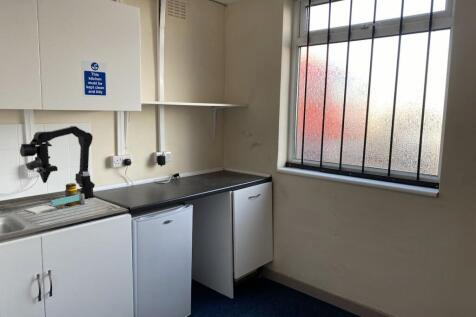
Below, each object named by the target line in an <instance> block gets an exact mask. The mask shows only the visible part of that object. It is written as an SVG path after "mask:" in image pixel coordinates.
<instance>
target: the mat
mask: <svg viewBox="0 0 476 317" xmlns="http://www.w3.org/2000/svg"><path fill="white" fill-rule="evenodd" d="M24 210H25V211H26V212H29V213H32V214H35V215H36V214H37V215H38V214H41V213H46V212H51V211H54V210H58V207H56V206H51V205H48V204H43V205H40V206H39V205H38V206H35V207H29V208H25V209H24Z"/></svg>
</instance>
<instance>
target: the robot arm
mask: <svg viewBox="0 0 476 317" xmlns="http://www.w3.org/2000/svg"><path fill="white" fill-rule="evenodd" d="M71 134H72V135H73V136H74V137H75V138H77V142H78V144H79V146H80V151H79V152H80V155H79V171H78V173H75V178H74V180H75V182H76V183H75V184H76V185H77V184H78V186H79V188H80V193H79V194H84V200H87V199H92V198H95V197H96V195H94V188H95V185H96V184H95V183H94V182H93V181H91V175H90V171H89V160H90V159H89V158H90V147H91V145H92V142H93V139H94V138H93V134H92V133H90V132H87V131H84V130H83V129H81V128H79V127H78V126H75V125H71V126H69V127H63V128H58V129H54V130H51V131H37V132H35V133H34V135H33V138H32V140H31V141H30V142H29V143H21V144H20V148H19V154H20V156H21V157H23V158H25V157H27V158H28V157H34V156H35V155H36V156H35V157H34V160H32V161H29V162H27V163H25V164H24V165H25V167H26V168H27V171H29V170H30V171H34V170H35V169H36V170H35V172H36V173H38V174H39V176H40V178H41V180H42V183H43V184H45V183H47V181H48V179H49V177H50V175H51V173H52V172H57V171H58V166H56V165H53V164H51V163H50V159H51V156H50V155H49V147H52V146H53V145H52V144H51V143H50V142H51V140H53V139H56V138H59V137H64V136H67V135H71Z"/></svg>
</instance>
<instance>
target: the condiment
mask: <svg viewBox="0 0 476 317" xmlns="http://www.w3.org/2000/svg"><path fill="white" fill-rule="evenodd" d="M64 191H65V197H69V196H74V195H78V188H77V183H74V182H71V183H66V184H65V190H64ZM77 206H81V204H80V203H78V201H74V202H69V203H66V204H64V207H65V208H70V207H77Z"/></svg>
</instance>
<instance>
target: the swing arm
mask: <svg viewBox="0 0 476 317" xmlns="http://www.w3.org/2000/svg"><path fill="white" fill-rule="evenodd" d="M78 200H81V195H80V193H78V194H77V195H74V196H69V197H66V196H65V197H61V198H56V199H51V200H50V206H52V207H56V205H60V204H65V203H69V202H74V201H78Z"/></svg>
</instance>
